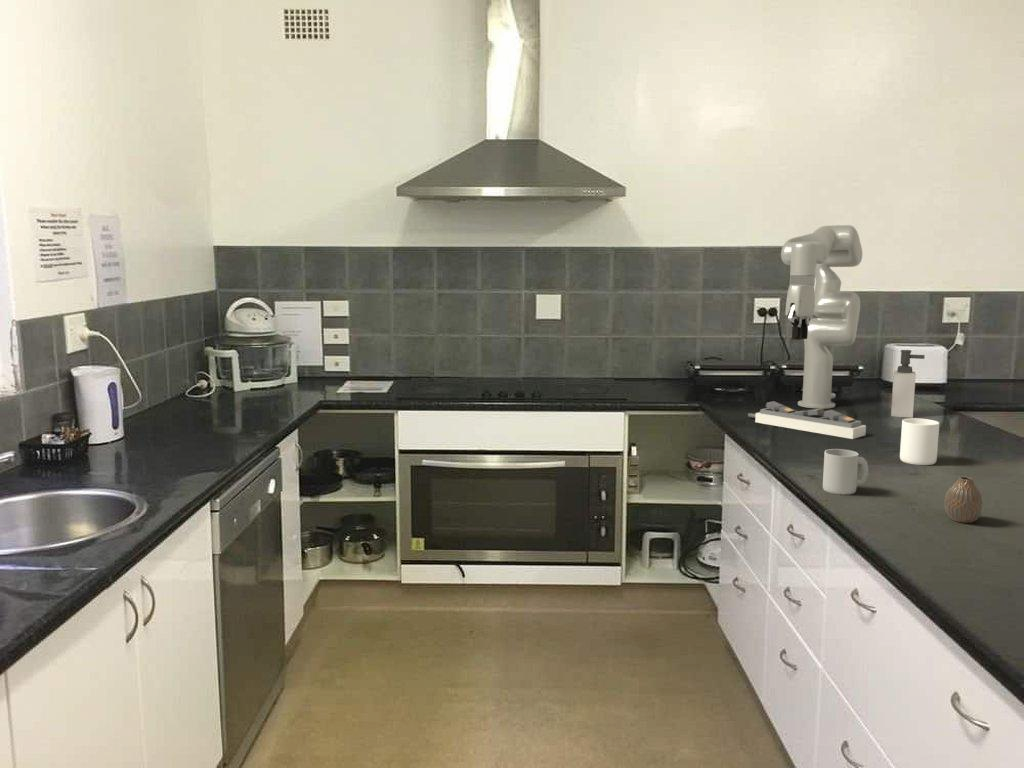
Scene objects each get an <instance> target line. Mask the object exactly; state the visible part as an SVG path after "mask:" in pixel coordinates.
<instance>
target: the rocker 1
mask: <svg viewBox="0 0 1024 768" xmlns="http://www.w3.org/2000/svg"><path fill="white" fill-rule="evenodd" d="M765 408H770V409H772V410H775V411H776V412H782V413H793V412H795V411H796V410H795V409H793V408H790V407H789V406H786V404H781V403H780V402H776V401H774V400H773V401H769V402H768V401H767V402H766V404H765Z"/></svg>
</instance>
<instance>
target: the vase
mask: <svg viewBox="0 0 1024 768" xmlns="http://www.w3.org/2000/svg"><path fill="white" fill-rule="evenodd" d="M984 504H985V502H984V497H983V494H982V492H981V490H980V489H979V488H978V486H977V485H976V484H975V481H974V479H973V478H972V477H969V476H960V477H958V478H957V480H956V481H955V482H954V483H953V484H952V485H951V486H950V487H949V488H948V490H947V491H946V494H945V497H944V510H945V512H946V514H947V515H948V517H949V518H950V519H951V520H952V521H955V522H957V523H961V524H962V523H963V524H971V523H974V522H975V521H977V520H978V519H979V518H980V517H981V516H982V514H983V511H984Z"/></svg>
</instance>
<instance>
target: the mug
mask: <svg viewBox="0 0 1024 768" xmlns="http://www.w3.org/2000/svg"><path fill="white" fill-rule="evenodd" d="M939 431H940V422H939V421H937V420H933V419H927V418H920V417H919V418H914V417H913V418H910V417H908V418H904V419H902V420H901V434H900V435H901V436H900V445H899V447H900V449H899V459H900V461H901V462H903V463H906V464H908V465H914V466H932V465H934V464H936V463H937V459H938V445H939Z"/></svg>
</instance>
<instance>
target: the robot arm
mask: <svg viewBox="0 0 1024 768" xmlns="http://www.w3.org/2000/svg"><path fill="white" fill-rule="evenodd" d="M780 251H781V252H780V259H781V261H782V262H783V264H785V265H787V266H789V268H790V269H789V270H790V271H789V286H788V289H787V294H786V302H785V310H784V311H785V317H788V318H787V319H788V321H789V322H790V323H791V329H792V330H791V339H792V340H799V341H801V340H803V344H804V360H803V383H802V400H801V399H800V400H799V401H797V405H798V406H799V407H801V408H802V407H803V408H807V409H823V408H824V410H825V409H828V410H829V409H833V408H835V407H836V403H835V402H833V401H832V399H835V398H836V393H834V392H832V384H833V381H832V380H833V368H834V367H833V365H834V364H833V363H834V358H833V357H834V356H833V355H832V353H831V351H830V350H829V349H828V347H829V346H835V347H836V346H837V347H848V346H852V345H853V344H854V343H855V340H856V339H857V332H858V325H859V319H860V312H861V300H860V296H859V294H857V293H855V292H851V291H841V287H842V281H841V278H840V277H839V275H837V273H836V272H835V271H834V270H832V268H844V267H845V268H852V267H857V266H859V265H860V264H861V262H862V259H863V248H862V244H861V239H860V235H859V233H858V230H857V229H856V228H855V227H854V226H853V225H851V224H845V225H844V224H842V225H839V224H838V225H837V224H836V225H823V226H821V227H818V228H817V229H816V230H814V232H812V233H811V232H810V233H807V234H804V235H801V236H796V237H792V238H789V239H788V240H787V241H786V242H784V244H783V245H782V247H781V250H780ZM814 316H815V317H814ZM827 346H828V347H827Z"/></svg>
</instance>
